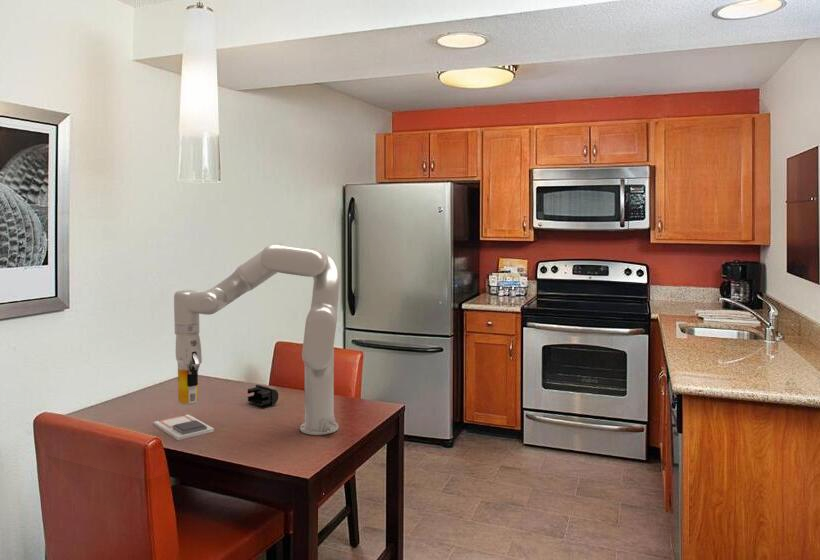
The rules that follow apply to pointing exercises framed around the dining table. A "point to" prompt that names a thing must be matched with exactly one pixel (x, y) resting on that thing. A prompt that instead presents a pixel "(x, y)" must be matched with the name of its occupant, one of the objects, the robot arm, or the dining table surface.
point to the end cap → (262, 397)
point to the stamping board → (183, 427)
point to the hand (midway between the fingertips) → (188, 383)
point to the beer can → (185, 386)
